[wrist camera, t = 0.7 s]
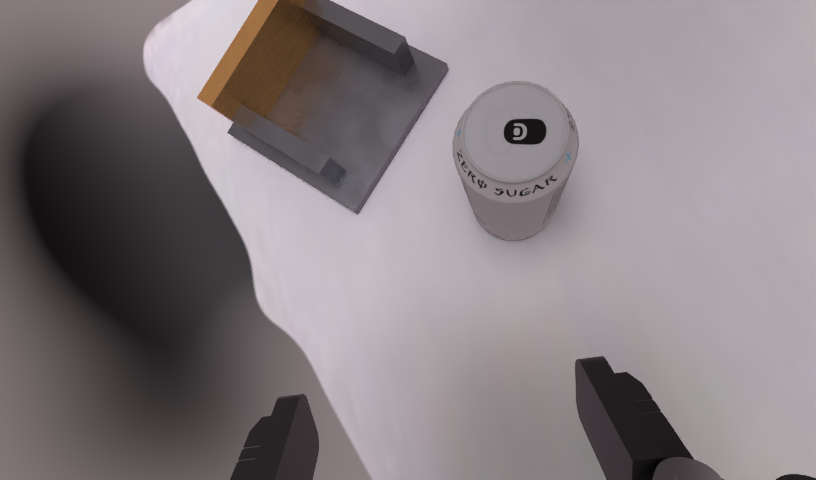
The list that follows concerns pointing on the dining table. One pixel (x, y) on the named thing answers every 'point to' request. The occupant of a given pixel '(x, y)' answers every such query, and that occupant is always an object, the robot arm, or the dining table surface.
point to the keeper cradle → (322, 93)
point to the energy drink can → (515, 157)
